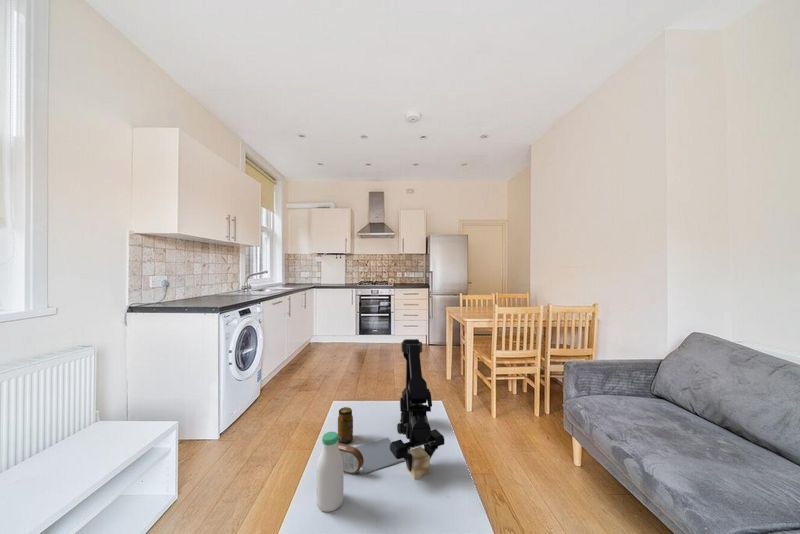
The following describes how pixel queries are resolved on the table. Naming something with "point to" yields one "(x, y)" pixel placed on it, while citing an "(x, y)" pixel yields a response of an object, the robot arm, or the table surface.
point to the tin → (351, 458)
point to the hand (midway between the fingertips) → (417, 467)
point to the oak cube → (419, 463)
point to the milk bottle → (330, 474)
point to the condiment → (346, 427)
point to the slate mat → (377, 455)
